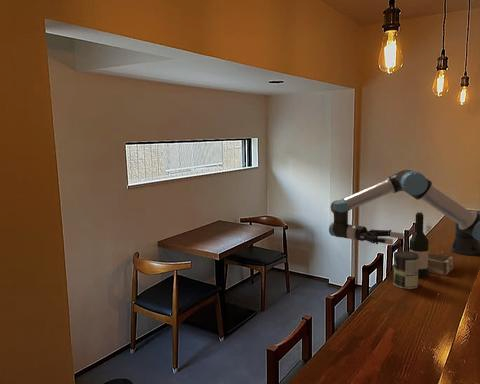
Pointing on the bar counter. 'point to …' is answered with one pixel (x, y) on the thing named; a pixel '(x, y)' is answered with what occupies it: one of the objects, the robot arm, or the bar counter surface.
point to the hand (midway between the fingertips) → (398, 238)
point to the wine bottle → (420, 246)
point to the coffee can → (406, 269)
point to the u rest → (440, 263)
